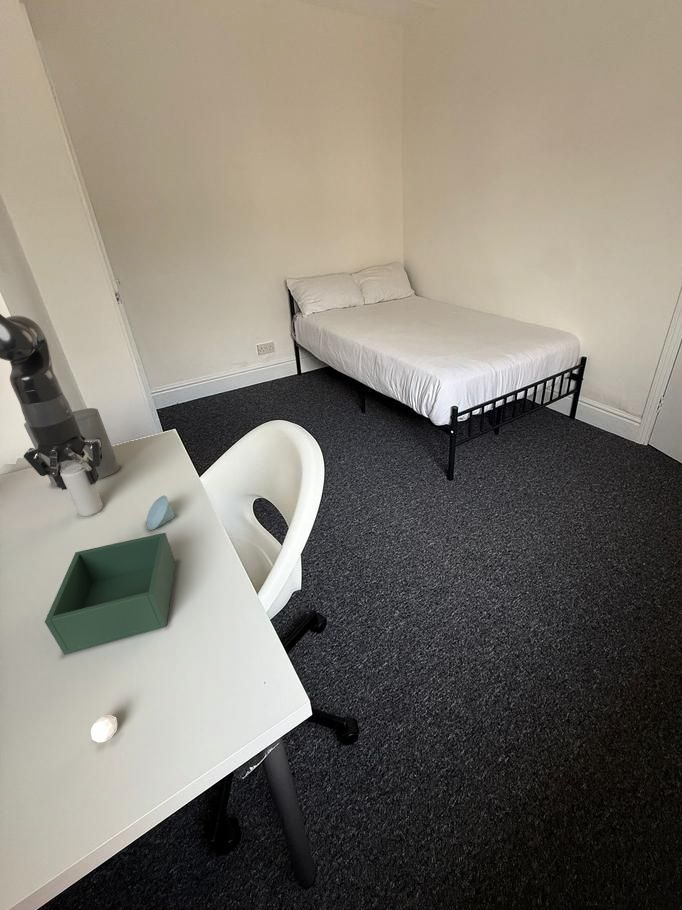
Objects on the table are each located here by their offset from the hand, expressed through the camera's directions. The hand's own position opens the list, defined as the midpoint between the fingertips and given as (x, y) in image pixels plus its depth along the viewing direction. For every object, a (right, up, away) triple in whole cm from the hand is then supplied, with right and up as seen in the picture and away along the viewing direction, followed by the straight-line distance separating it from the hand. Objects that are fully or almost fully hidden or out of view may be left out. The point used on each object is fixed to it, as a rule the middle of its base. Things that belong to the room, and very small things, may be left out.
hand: (80, 484), depth 92 cm
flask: (-10, -1, +16) cm, 18 cm away
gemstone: (+18, -8, -1) cm, 20 cm away
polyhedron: (+31, -27, -37) cm, 56 cm away
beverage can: (0, -7, +3) cm, 8 cm away
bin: (+22, -18, -19) cm, 34 cm away
